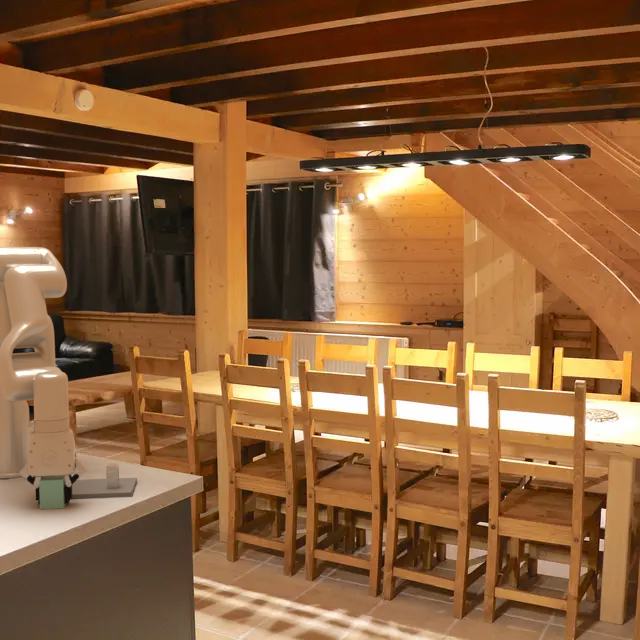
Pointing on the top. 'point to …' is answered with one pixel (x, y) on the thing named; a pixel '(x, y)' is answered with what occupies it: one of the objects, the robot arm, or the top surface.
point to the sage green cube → (52, 492)
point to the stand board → (102, 488)
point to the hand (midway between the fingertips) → (54, 501)
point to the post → (112, 475)
